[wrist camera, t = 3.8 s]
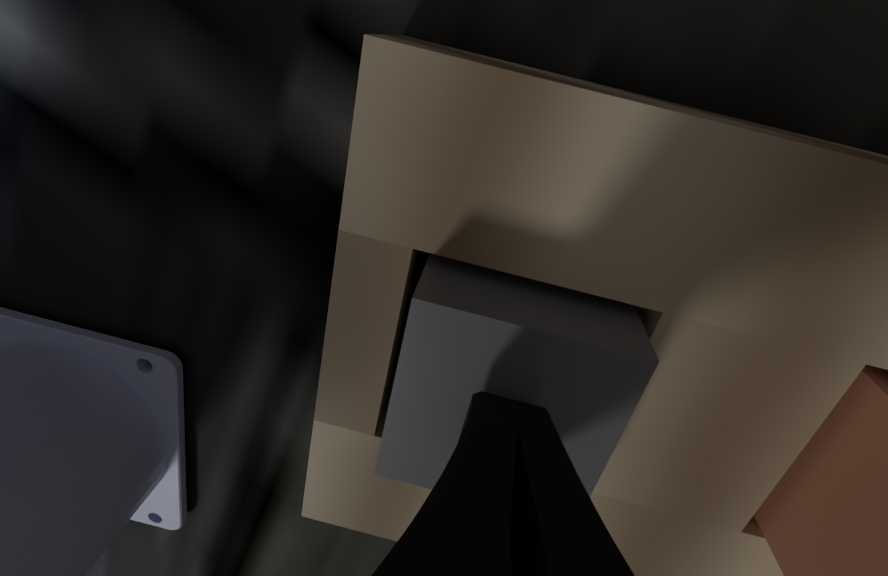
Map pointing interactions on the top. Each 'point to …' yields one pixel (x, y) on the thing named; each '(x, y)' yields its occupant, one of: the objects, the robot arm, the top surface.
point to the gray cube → (511, 366)
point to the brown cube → (836, 491)
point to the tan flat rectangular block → (608, 282)
